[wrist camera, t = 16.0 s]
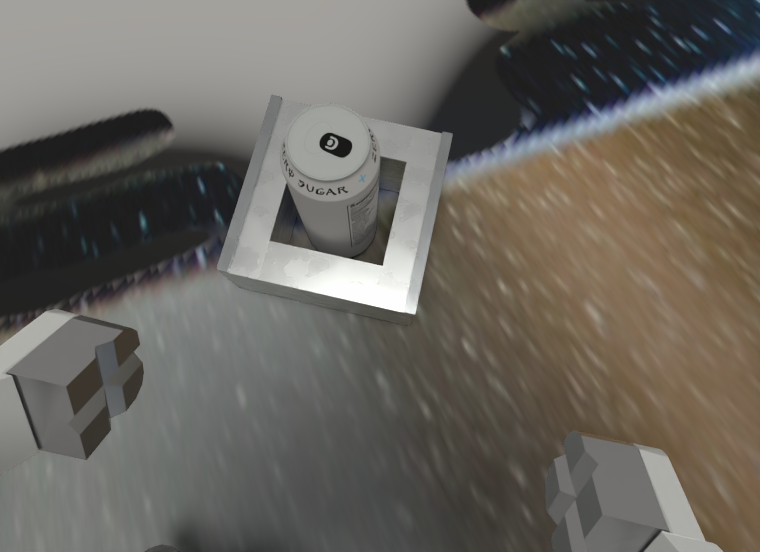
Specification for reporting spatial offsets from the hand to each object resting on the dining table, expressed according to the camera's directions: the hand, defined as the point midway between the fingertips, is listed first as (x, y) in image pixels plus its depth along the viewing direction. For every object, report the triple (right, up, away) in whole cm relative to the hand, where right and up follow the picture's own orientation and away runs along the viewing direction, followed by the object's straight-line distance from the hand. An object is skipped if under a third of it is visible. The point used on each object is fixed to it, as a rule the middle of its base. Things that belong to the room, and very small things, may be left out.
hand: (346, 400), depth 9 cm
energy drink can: (-3, +6, +33) cm, 33 cm away
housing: (-3, +7, +32) cm, 33 cm away
